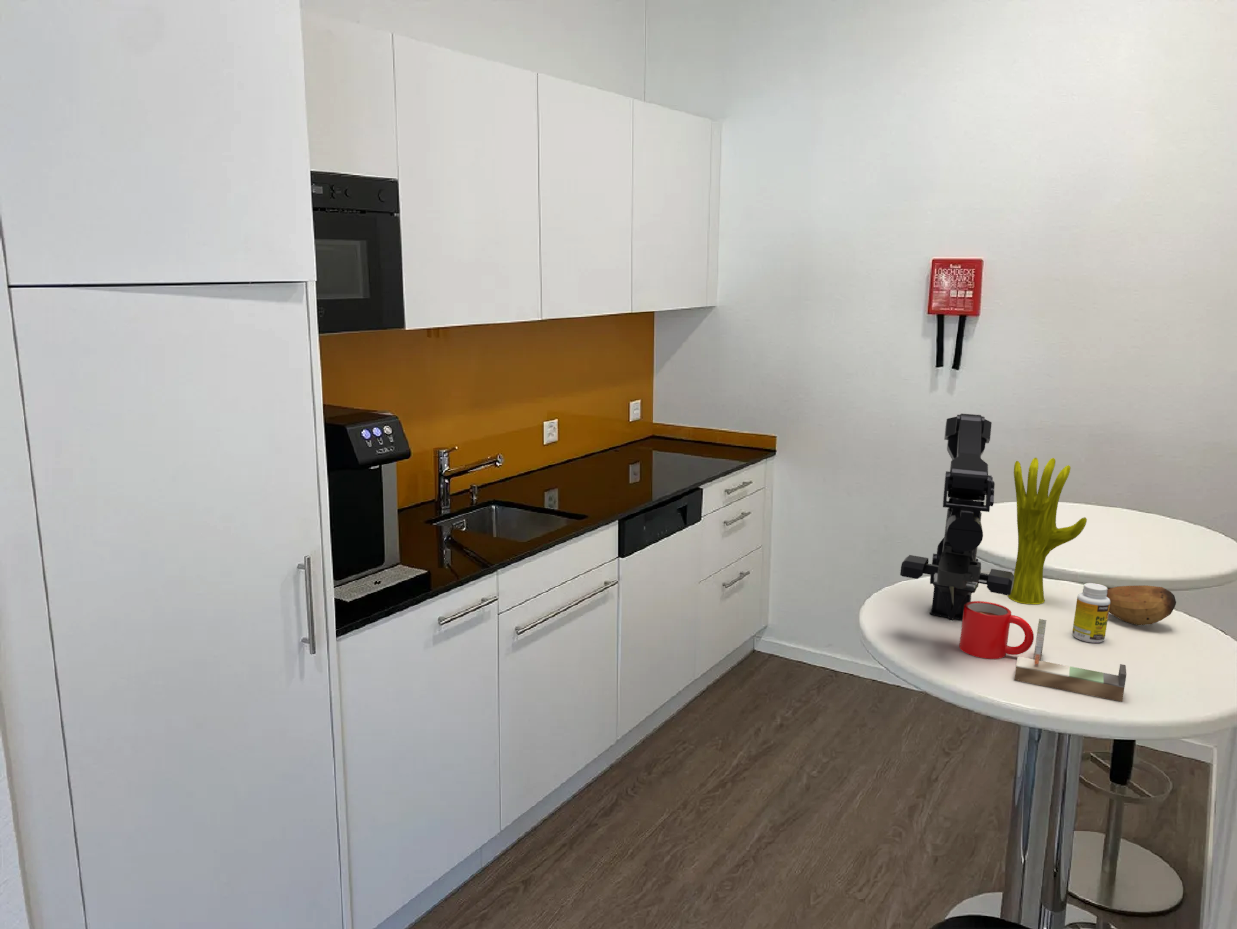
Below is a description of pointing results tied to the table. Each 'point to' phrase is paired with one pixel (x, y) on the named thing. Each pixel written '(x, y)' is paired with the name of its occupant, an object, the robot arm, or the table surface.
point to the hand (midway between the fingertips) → (951, 619)
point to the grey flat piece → (1039, 640)
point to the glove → (1038, 529)
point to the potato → (1140, 603)
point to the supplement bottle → (1091, 613)
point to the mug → (991, 631)
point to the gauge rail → (1072, 678)
